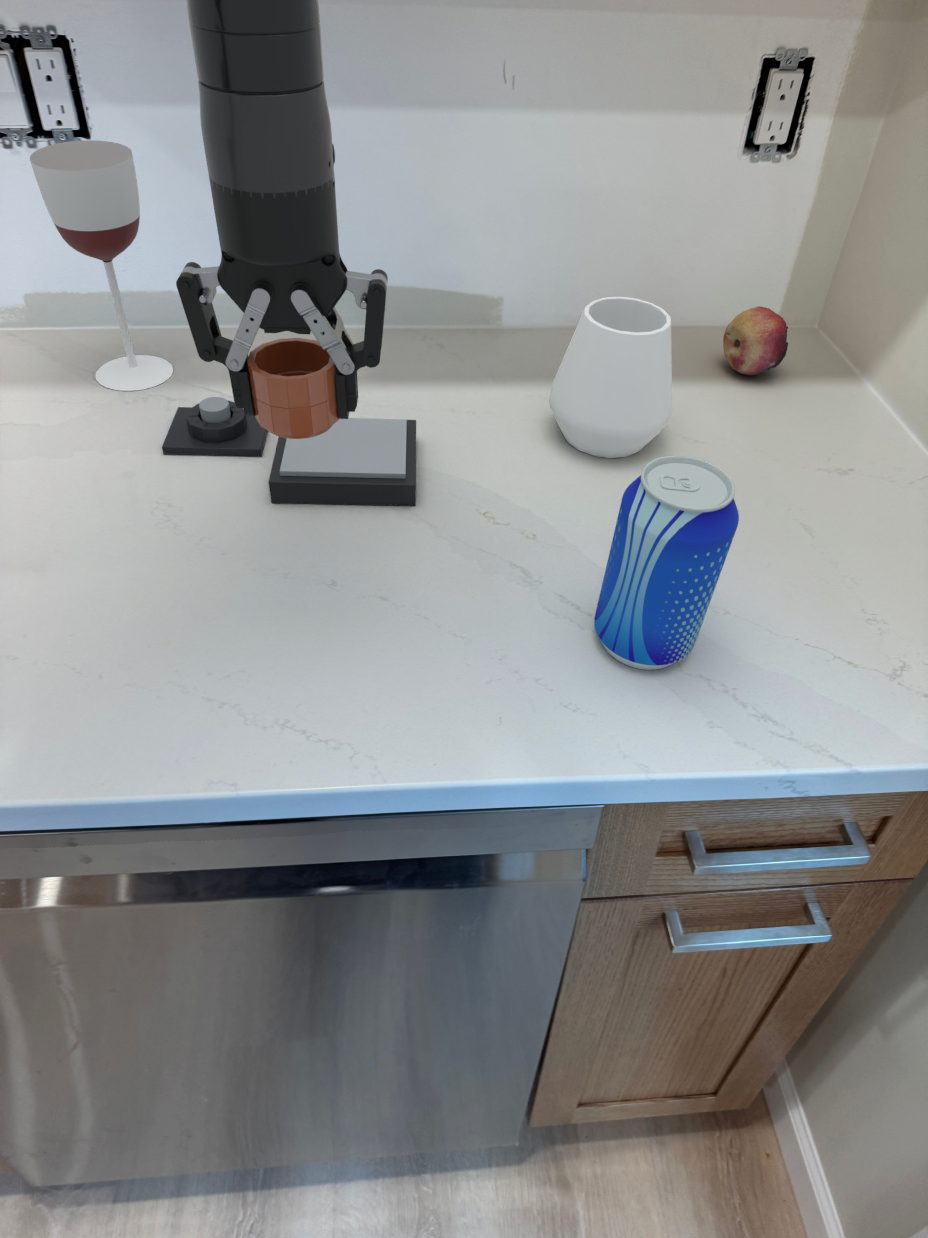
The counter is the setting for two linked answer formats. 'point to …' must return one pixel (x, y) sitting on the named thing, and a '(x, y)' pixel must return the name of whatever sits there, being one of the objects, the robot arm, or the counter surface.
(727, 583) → the counter surface
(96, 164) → the wineglass
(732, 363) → the fruit
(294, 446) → the scale
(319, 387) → the copper hollow cylinder
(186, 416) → the block
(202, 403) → the button
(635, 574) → the beer can
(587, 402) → the cup
